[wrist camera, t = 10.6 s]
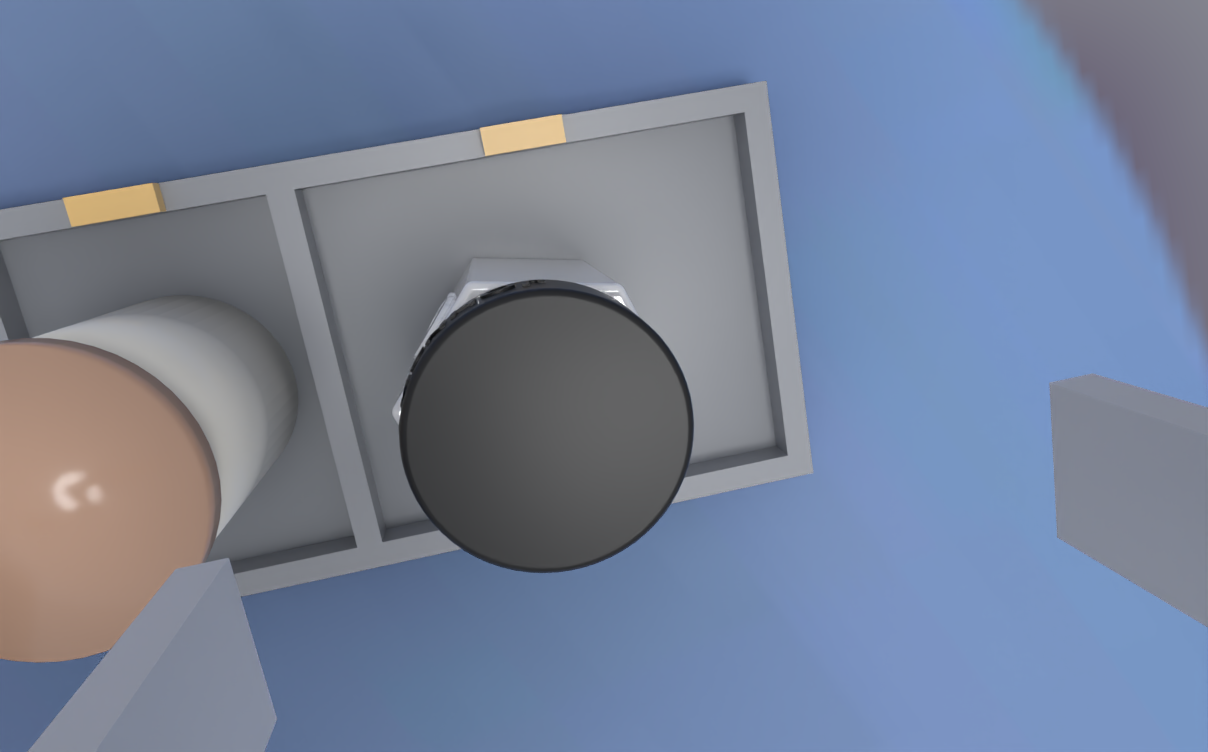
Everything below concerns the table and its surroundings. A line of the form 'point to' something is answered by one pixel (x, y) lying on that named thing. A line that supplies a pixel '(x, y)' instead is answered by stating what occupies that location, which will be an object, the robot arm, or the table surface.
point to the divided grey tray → (446, 293)
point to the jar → (543, 417)
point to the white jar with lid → (127, 462)
